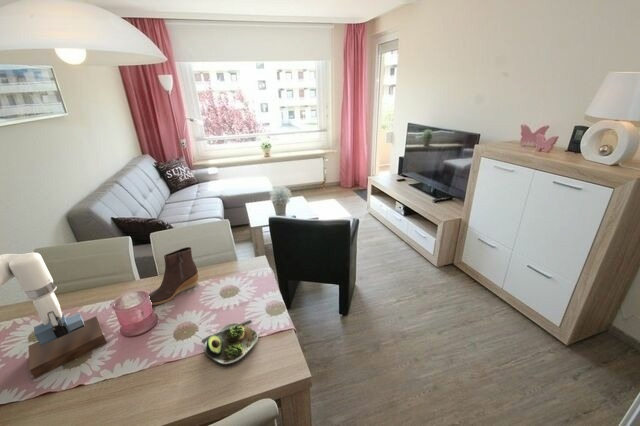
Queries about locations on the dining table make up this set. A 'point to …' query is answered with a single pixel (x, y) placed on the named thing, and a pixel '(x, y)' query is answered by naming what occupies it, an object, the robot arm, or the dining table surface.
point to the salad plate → (230, 343)
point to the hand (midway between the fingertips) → (62, 330)
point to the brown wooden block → (65, 348)
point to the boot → (176, 276)
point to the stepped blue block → (46, 332)
